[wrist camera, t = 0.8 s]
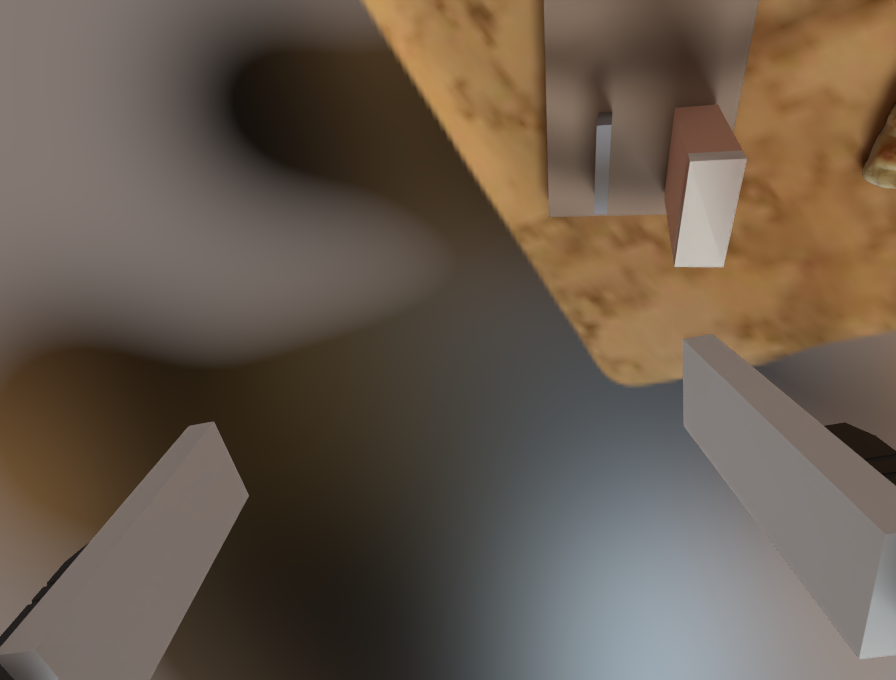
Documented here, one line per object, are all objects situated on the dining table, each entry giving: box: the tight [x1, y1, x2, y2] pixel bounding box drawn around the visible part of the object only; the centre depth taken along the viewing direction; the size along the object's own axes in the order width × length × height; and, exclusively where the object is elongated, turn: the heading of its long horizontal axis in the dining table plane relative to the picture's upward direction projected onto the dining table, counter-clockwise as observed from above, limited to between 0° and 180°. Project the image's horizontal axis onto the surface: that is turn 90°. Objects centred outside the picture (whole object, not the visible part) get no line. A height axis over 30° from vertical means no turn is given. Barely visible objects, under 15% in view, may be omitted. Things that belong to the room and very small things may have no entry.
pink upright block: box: [664, 104, 747, 267], centre depth 30 cm, size 6×2×10 cm, turn 9°
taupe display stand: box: [544, 0, 759, 217], centre depth 30 cm, size 22×12×5 cm, turn 9°
